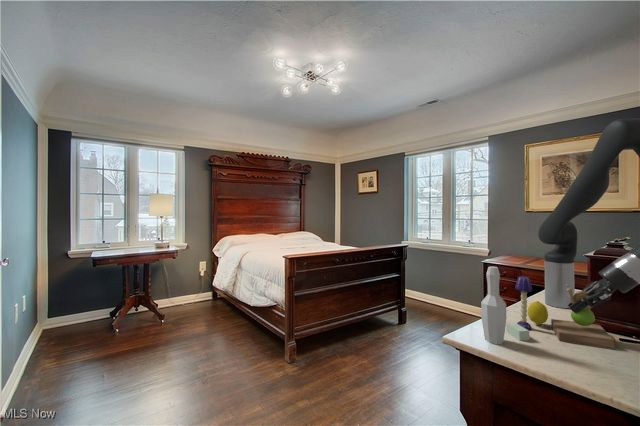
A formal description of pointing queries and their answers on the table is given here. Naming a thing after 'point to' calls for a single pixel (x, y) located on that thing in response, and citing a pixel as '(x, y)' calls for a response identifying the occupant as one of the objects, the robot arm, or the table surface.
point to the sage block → (517, 331)
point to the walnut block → (582, 334)
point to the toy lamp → (524, 299)
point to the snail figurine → (583, 316)
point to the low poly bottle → (493, 309)
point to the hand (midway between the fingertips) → (571, 309)
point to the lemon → (537, 313)
